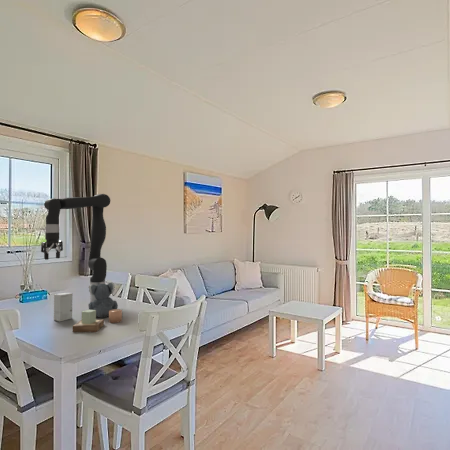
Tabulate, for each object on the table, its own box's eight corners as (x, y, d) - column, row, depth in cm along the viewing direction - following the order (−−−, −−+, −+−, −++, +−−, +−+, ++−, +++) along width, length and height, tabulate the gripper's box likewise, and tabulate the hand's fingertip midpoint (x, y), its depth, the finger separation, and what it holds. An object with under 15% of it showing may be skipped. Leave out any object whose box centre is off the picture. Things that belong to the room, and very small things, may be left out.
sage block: (88, 320, 183) (88, 309, 183) (96, 321, 181) (96, 310, 181) (81, 323, 178) (81, 311, 178) (89, 324, 176) (89, 312, 176)
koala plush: (117, 310, 219) (117, 279, 219) (118, 317, 202) (118, 284, 202) (88, 312, 213) (88, 281, 213) (86, 319, 196) (86, 285, 196)
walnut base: (81, 325, 185) (81, 319, 185) (103, 324, 186) (103, 319, 186) (72, 332, 173) (72, 325, 173) (96, 331, 174) (96, 325, 174)
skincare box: (59, 321, 192) (59, 295, 192) (53, 320, 195) (53, 294, 195) (73, 318, 199) (73, 292, 199) (66, 317, 202) (66, 291, 202)
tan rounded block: (113, 319, 197) (114, 308, 198) (124, 320, 195) (124, 309, 195) (106, 322, 191) (106, 311, 191) (116, 323, 189) (117, 312, 189)
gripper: (56, 231, 212) (56, 257, 212) (37, 232, 199) (37, 259, 199) (66, 231, 210) (66, 258, 210) (47, 232, 197) (47, 260, 196)
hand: (52, 258), depth 204 cm, fingers open, 8 cm apart
